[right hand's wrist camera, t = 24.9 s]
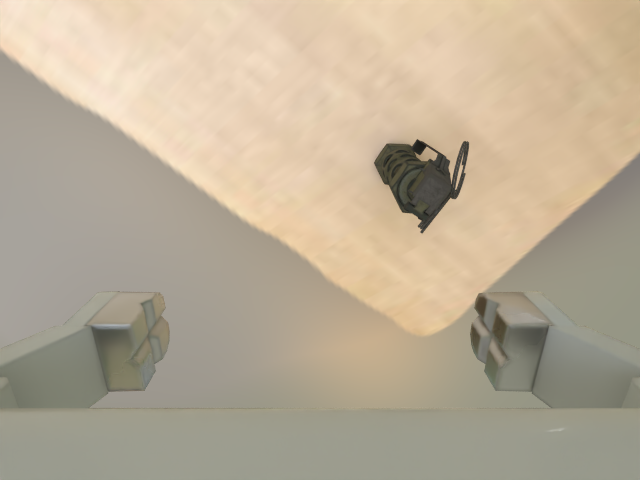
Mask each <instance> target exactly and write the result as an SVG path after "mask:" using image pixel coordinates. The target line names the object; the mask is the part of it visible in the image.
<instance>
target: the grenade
mask: <svg viewBox="0 0 640 480" xmlns="http://www.w3.org/2000/svg"><path fill="white" fill-rule="evenodd" d="M426 146H427V147H429V148H430V149H432V150H433V151H435V152H436V153H438V155H437V158H436V160H435V161H433V160H431V159H429V160H428V162H426V161H421V160H419V159H418V158H417V157H416V155H415V153H417V154H418V155H421V154H422V152H423V151H424V149H425V148H426ZM463 146H464V147H463ZM466 148H467V150H466ZM462 149H463V150H462ZM468 149H469V142H468V141H467V142H466V141H464V142H463V144H462V146H461V148H460V151H459V154H458V158H457V161H456V165H455V169H454V174H453V179H452V185H451V179H450V172H449V169H448V167H449V163H450V161H449V160H448V159H446V156H444V155H443V154H441V153H440V152H438V151H436V150H435V149H433V148H432V147H430V146H429V145H427V144H426V143H424V142H422V141H419V140H418V139H417V140H416V142H415V143H414V145H413V146H412V147H411V146H410V145H406V144H386V146H385V147H384V148H383V150H382V151H381V153H380V154H379V156H378V157H377V159H376V160H375V162H374V164H375V166H376V168H377V170H378V172H379V174H380V176H381V178H382V180H383V182H384V184H387V185H389V186H390V189H391V191H392V193H393V195H394V197H395V199H396V201H397V203H398V205H399V207H400V209H401V211H402V212H403V213H412V214H414V215H416V216H417V217H418V219H420V220H422V221H421V223H420V224H419V225H418V227H420V229H422V230H421V233H423V232H424V231H425V229H426V228H427V227H428V226H429V224H430V223H431V222H432V220H433V219H434V218H435V217H436V215H437V214H438V213H439V212H440V210H441V209H442V208H443V207H444V205H445V204H446V203H447V201H448V200H449V199H450V198H452V199H456V198H457V197H458V195H459V193H460V190H461V187H462V184H463V181H464V177H465V174H466V173H464V169H465V165H466V161H467V156H468ZM461 151H462V152H461ZM414 152H415V153H414ZM463 153H464V156H463ZM460 154H461V156H460ZM465 155H466V156H465ZM462 156H463V161H462V165H464V166H463V170H462V174H461V177H460V181H459V184H458V187H457V189H456V190H455V187H456V180H457V176H458V171H459V167H460V163H461V159H462ZM459 158H460V159H459ZM464 160H465V161H464ZM458 161H459V163H458ZM457 165H458V167H457ZM456 169H457V171H456ZM463 173H464V174H463ZM455 174H456V176H455ZM462 177H463V178H462ZM454 179H455V181H454ZM461 180H462V181H461ZM453 185H454V187H453ZM459 186H460V187H459ZM458 189H459V190H458ZM455 191H456V192H455ZM422 224H423V225H422ZM421 225H422V226H421Z"/></svg>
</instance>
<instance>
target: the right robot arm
mask: <svg viewBox="0 0 640 480" xmlns="http://www.w3.org/2000/svg"><path fill="white" fill-rule="evenodd" d="M475 309H476V311H477V313H478V314H479V316H478V317H477V318H476V319H475V320H474V321H473V322H472V326H471V333H470V335H471V345H472V348H473V352H474V354H475V355H476V357H477V359H478V360H480V361H481V362H483V363H485V364H486V365H485V370H484V371H485V373H486V375H487V377H488V378H489V380H490V382H491V384H492V385H493V387H494V389H495V390H496V391H528V392H532V394H534V395H535V396H536V397H537V398H539V399H540V400H541V401H543V402H544V403H545V404H547V405H548V406H549V407H551V408H89V407H91V406H92V405H93V404H95V403H96V402H97V401H99V400H100V399H101V398H103V397H104V396H105V395H107V394H108V392H113V391H144V390H145V389H146V387H147V385H148V384H149V382H150V380H151V378H152V377H153V375H154V373H155V371H156V370H155V365H154V364H155V363H157V362H159V361H160V360H162V359H163V357H164V355H165V354H166V352H167V348H168V344H169V325H168V322H167V321H166V320H165V319H164V318H163V317H162V316H161V314H162V313H163V311H164V310H165V303H164V298H163V296H162V295H161V294H160V293H155V292H154V293H153V292H119V291H118V292H98V293H97V294H96V295H95V296H93V297H92V298H91V299H90V300H89V301H88V302H87V303H86V304H85V305H84V306H83V307H82V308H81V309H80V310H79V311H77V312H76V313H75V314H74V315H73V316H72V317H71V318H70V319H69V320H68V321H67V322H66V323H65V324H63V325H62V326H54V327H52V328H49V329H47V330H44V331H42V332H40V333H37V334H35V335H32V336H30V337H28V338H25V339H23V340H20V341H18V342H15V343H13V344H10V345H8V346H6V347H3V348H1V349H0V480H640V349H639V348H637V347H634V346H632V345H629V344H627V343H625V342H622V341H620V340H617V339H615V338H612V337H610V336H608V335H605V334H603V333H600V332H598V331H596V330H593V329H591V328H588V327H586V326H578V325H577V324H575V323H574V322H573V321H572V320H571V319H570V318H569V317H568V316H567V315H566V314H565V313H564V312H563V311H562V310H560V309H559V308H558V307H557V306H556V305H555V304H554V303H553V302H552V301H551V300H550V299H549V298H548V297H547V296H546V295H545V294H543V293H541V292H538V291H535V292H495V293H479V294H478V296H477V298H476V302H475Z"/></svg>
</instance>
